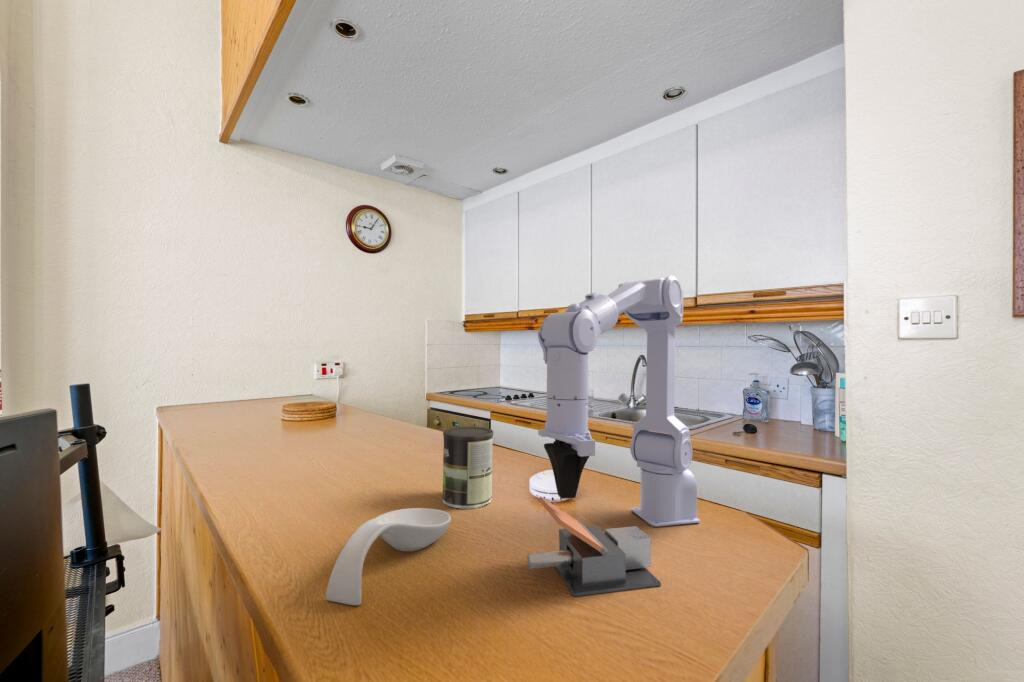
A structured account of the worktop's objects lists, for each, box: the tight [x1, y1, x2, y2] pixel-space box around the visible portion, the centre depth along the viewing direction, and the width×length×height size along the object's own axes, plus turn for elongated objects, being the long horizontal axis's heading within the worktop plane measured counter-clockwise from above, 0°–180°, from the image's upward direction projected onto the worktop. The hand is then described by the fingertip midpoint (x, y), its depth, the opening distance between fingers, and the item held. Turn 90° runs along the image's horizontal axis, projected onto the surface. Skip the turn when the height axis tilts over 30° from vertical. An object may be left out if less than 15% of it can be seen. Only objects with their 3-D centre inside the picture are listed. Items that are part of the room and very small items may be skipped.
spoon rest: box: [325, 507, 452, 606], centre depth 61 cm, size 24×12×7 cm, turn 166°
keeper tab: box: [538, 496, 608, 556], centre depth 58 cm, size 8×9×1 cm
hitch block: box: [554, 525, 662, 598], centre depth 58 cm, size 12×11×4 cm
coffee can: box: [441, 426, 494, 510], centre depth 86 cm, size 10×10×14 cm
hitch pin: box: [526, 525, 652, 570], centre depth 58 cm, size 17×4×4 cm, turn 103°
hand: (566, 496), depth 58 cm, fingers closed
